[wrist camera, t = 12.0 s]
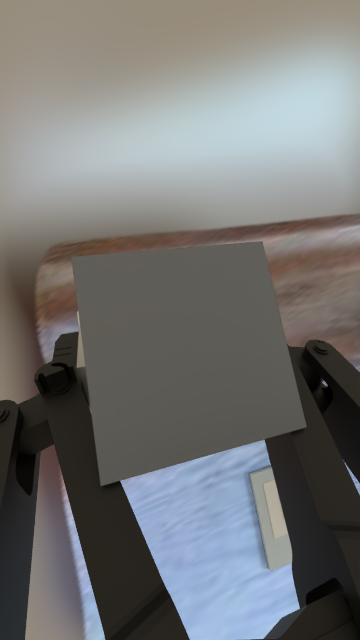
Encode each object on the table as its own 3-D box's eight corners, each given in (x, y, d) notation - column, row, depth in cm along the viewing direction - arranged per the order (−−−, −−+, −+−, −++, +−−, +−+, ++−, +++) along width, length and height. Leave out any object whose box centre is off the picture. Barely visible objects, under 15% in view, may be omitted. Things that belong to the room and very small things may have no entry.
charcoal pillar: (183, 313, 20) (262, 241, 8) (197, 390, 19) (306, 426, 8) (104, 324, 19) (71, 256, 7) (116, 407, 18) (100, 486, 6)
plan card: (309, 454, 38) (312, 455, 37) (330, 542, 36) (334, 546, 36) (248, 473, 36) (251, 475, 35) (268, 568, 34) (271, 572, 33)
